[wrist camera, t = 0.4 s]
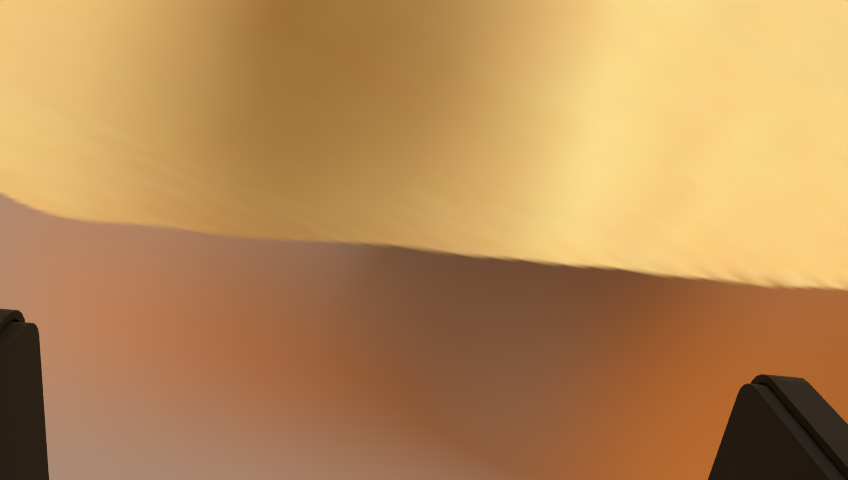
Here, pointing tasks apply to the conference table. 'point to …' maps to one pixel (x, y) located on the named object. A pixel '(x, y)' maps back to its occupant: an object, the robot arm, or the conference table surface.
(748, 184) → the conference table surface
